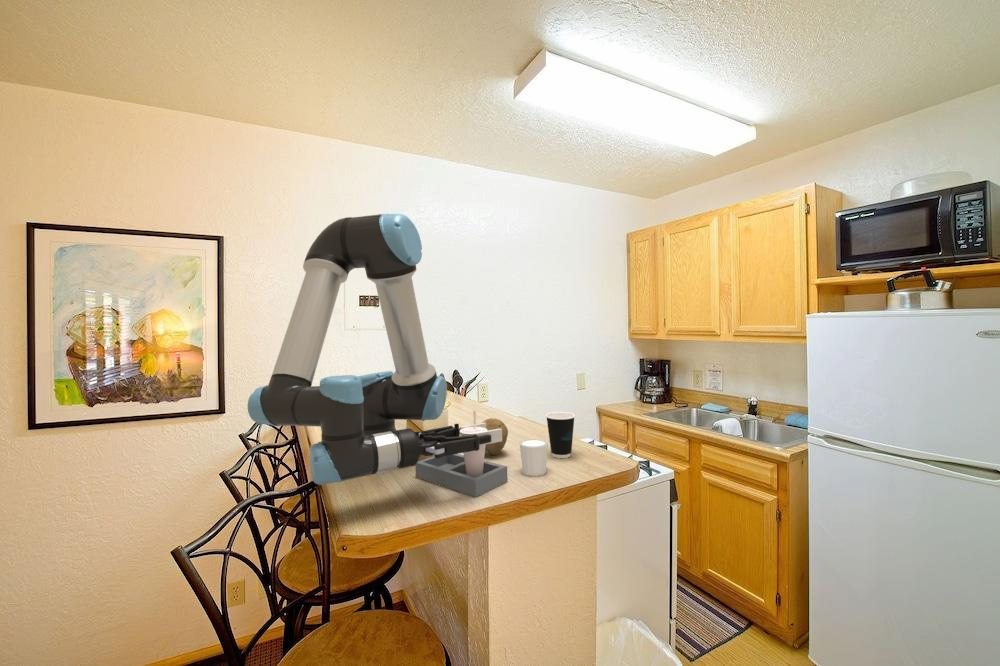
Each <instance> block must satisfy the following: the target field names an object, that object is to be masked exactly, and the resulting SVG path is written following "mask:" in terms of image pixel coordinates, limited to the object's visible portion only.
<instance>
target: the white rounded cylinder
mask: <svg viewBox="0 0 1000 666" xmlns="http://www.w3.org/2000/svg"><path fill="white" fill-rule="evenodd" d="M548 447H549V443H548V442H547V441H546V440H542V439H524V440H522V441H520V442H519V449H520V450H519V451H520V460H521V466H522V473H523V474H524V475H526V476H528V477H529V476H530V477H539V476H543V475H545V474H546V473H547V464H548V450H549V448H548Z"/></svg>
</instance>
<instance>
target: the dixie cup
mask: <svg viewBox="0 0 1000 666" xmlns="http://www.w3.org/2000/svg"><path fill="white" fill-rule="evenodd" d="M575 417H576V415H575V414H574V413H573V412H567V411H553V412H548V413H546V414H545V418H546V423H547V432H548V439H549V445H550V452H551V455H552V457H553V458H555V457H556V458H555V459H560V458H564V459H569V458H570V457H571V453H572V452H573V451H572V450H573V449H572V448H573V438H574V437H573V436H574V425H575V424H574V423H575ZM568 457H569V458H568Z"/></svg>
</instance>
